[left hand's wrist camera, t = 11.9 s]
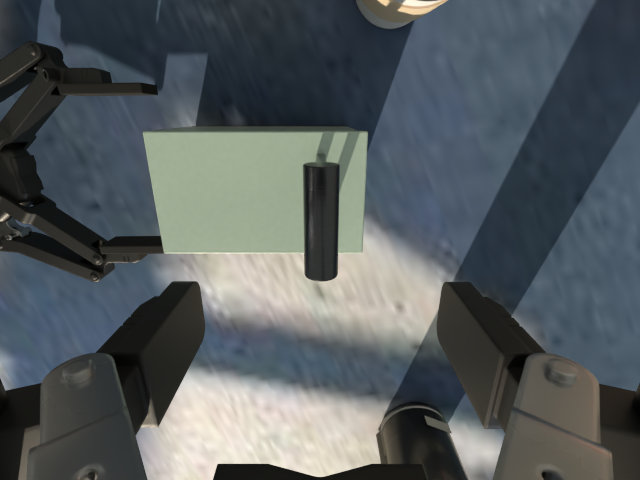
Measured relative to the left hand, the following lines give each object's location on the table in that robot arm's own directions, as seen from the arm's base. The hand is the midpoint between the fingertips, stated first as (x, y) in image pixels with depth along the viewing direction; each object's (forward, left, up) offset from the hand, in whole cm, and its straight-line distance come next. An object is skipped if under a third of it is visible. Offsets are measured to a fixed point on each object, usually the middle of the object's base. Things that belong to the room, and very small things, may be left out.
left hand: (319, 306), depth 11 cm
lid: (-3, +4, -17) cm, 17 cm away
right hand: (-8, +11, -20) cm, 25 cm away
